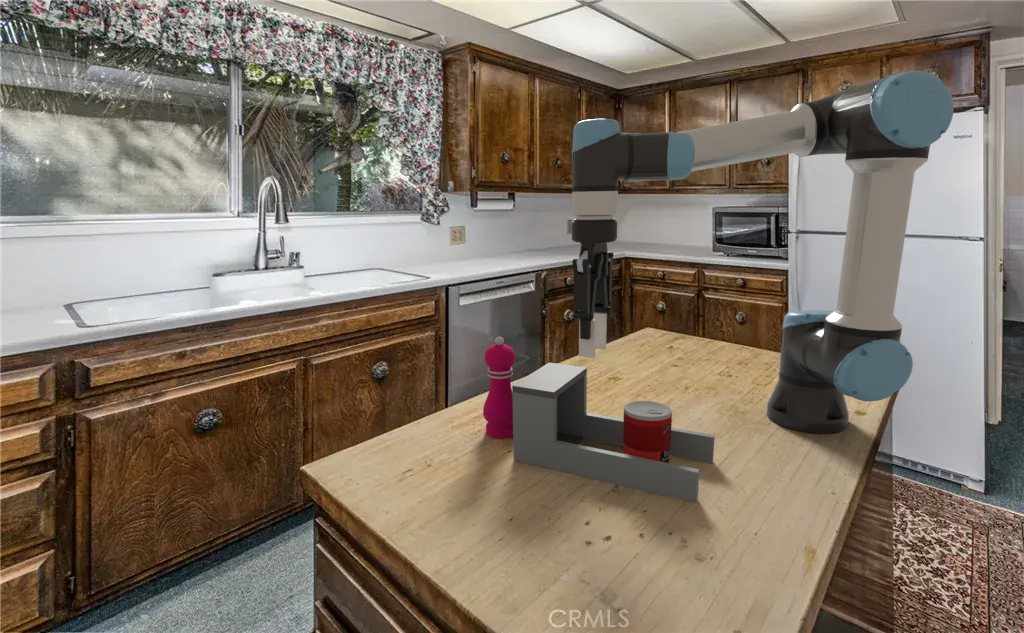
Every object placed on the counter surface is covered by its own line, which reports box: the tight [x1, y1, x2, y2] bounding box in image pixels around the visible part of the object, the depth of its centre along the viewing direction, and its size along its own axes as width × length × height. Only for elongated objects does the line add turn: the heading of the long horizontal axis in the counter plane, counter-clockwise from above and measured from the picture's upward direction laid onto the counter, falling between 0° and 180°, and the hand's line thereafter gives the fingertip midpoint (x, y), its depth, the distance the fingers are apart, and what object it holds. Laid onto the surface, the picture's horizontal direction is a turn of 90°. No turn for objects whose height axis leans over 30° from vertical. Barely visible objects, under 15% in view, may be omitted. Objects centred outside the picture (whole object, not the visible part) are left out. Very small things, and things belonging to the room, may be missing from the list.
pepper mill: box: [482, 336, 516, 440], centre depth 112 cm, size 7×7×20 cm
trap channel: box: [511, 362, 716, 503], centre depth 100 cm, size 32×15×14 cm, turn 62°
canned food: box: [622, 400, 673, 463], centre depth 98 cm, size 8×8×11 cm
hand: (592, 352), depth 99 cm, fingers open, 5 cm apart
